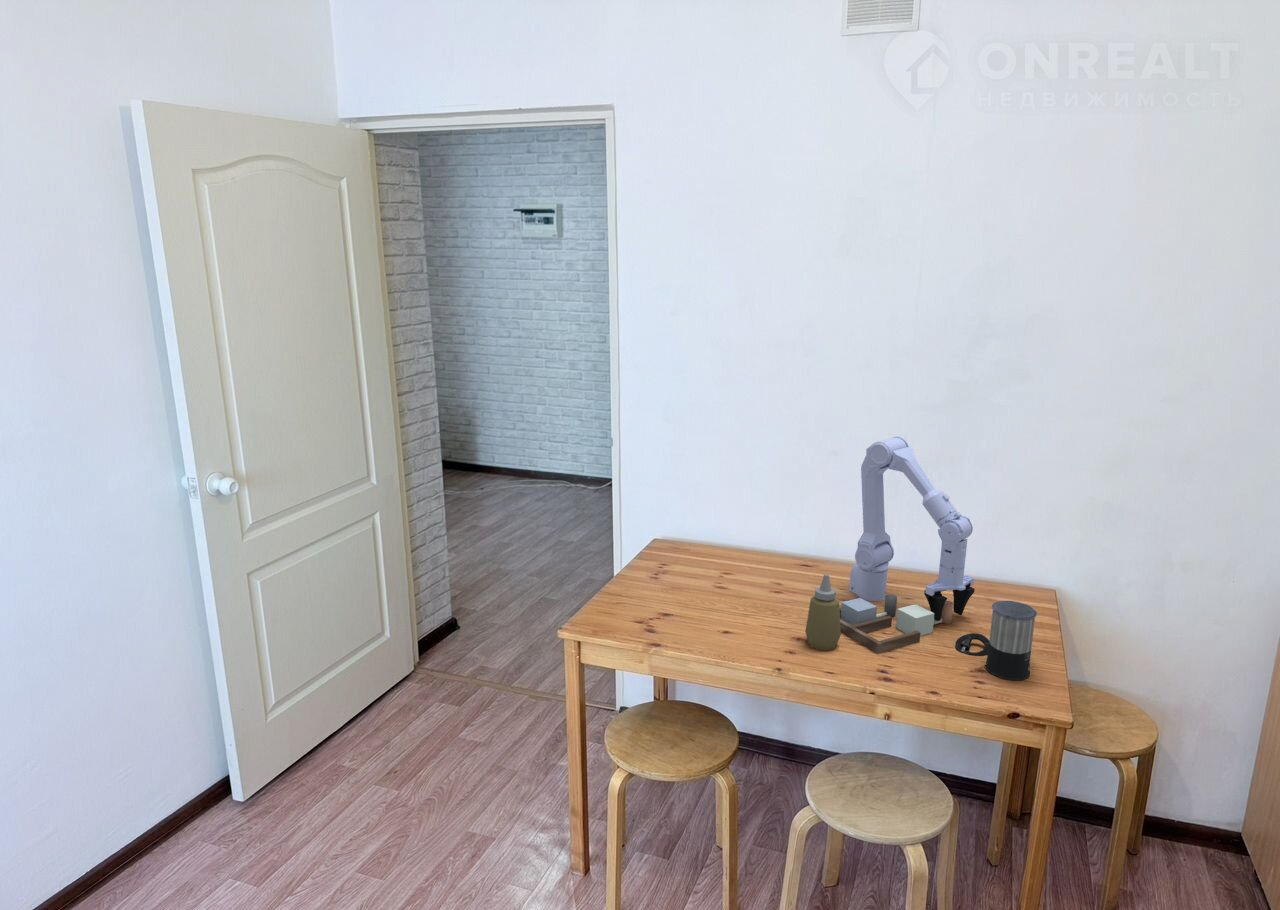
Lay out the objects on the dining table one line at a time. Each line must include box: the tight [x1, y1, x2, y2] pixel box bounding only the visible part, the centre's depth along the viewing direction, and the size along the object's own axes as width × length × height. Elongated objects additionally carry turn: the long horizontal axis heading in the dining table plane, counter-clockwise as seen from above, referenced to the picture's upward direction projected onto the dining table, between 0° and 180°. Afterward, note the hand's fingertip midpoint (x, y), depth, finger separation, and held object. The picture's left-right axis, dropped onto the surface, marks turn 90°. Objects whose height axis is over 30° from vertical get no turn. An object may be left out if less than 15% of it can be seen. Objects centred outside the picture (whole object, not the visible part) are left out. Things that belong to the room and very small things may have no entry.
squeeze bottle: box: [804, 574, 841, 651], centre depth 190 cm, size 8×8×18 cm
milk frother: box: [954, 600, 1038, 681], centre depth 183 cm, size 14×16×15 cm
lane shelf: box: [839, 606, 921, 655], centre depth 201 cm, size 20×28×3 cm
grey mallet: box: [840, 593, 898, 625], centre depth 204 cm, size 6×15×5 cm, turn 117°
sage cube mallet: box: [895, 600, 954, 637], centre depth 200 cm, size 6×15×5 cm, turn 117°
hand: (946, 616), depth 203 cm, fingers open, 7 cm apart
